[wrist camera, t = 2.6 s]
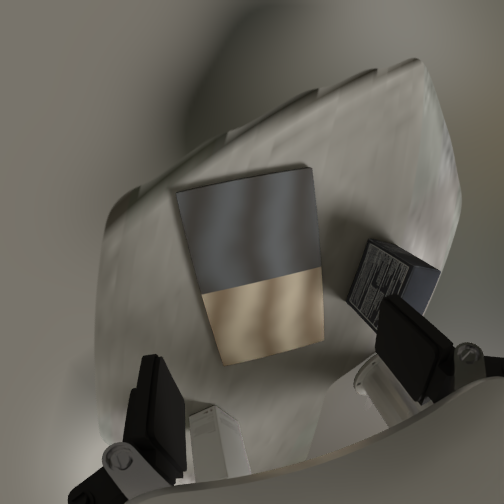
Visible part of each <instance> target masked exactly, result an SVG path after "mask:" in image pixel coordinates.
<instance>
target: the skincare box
mask: <svg viewBox="0 0 504 504" xmlns="http://www.w3.org/2000/svg"><path fill="white" fill-rule="evenodd" d="M189 423H190V435H191V446H192V455H193V464H194V473H195V481H196V483H199V482H208V481H215V480H222V479H229V478H234V477H240V476H246V475H251V474H252V473H251V469H250V466H249V462H248V458H247V454H246V450H245V446H244V442H243V438H242V434H241V430H240V426H239V422H238V421H237V420H235V419H234V418H232V417H231V416H230V415H228V414H227V413H225V412H224V411H223V410H221V409H220V408H218V407H217V406H216V405H214V406H212V407H209V408H207V409H205V410H203V411H200V412H198V413H196V414H194V415H191V416H190V417H189Z"/></svg>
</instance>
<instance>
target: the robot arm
mask: <svg viewBox="0 0 504 504" xmlns="http://www.w3.org/2000/svg"><path fill="white" fill-rule="evenodd" d="M375 350H376V353H377V354H376V355H375V356H373V357H372V358H371V359H369V360H368V361H367V362H366V363H365V364H364V365H363V366H362V367H361V369H360V370H359V371H358V373H357V375H356V377H355V379H354V388H355V390H356V391H357V393H359V394H361V395H368V396H369V398H370V399H371V401H372V402H373V404H374V405H375V407H376V409H377V410H378V412H379V413H380V415H381V416H382V418H383V420H384V421H385V423H386V424H387V426H388V427H389V429H387V430H384V431H382V432H380V433H378V434H376V435H374V436H372V437H369V438H367V439H364V440H362V441H360V442H357V443H355V444H352V445H350V446H347V447H345V448H342V449H340V450H337V451H334V452H331V453H328V454H326V455H323V456H320V457H317V458H314V459H310V460H307V461H304V462H300V463H297V464H293V465H290V466H286V467H282V468H278V469H274V470H270V471H265V472H261V473H256V474H251V475H246V476H240V477H234V478H229V479H222V480H215V481H208V482H199V483H192V484H184V485H176V486H174V484H175V483H176V478H183V472H184V471H187V461H186V438H185V403H184V399H183V397H182V395H181V393H180V391H179V389H178V387H177V385H176V383H175V382H174V380H173V378H172V376H171V374H170V372H169V369H168V367H167V365H166V363H165V361H164V359H163V357H158V355H157V354H152V355H146V356H143V357H142V361H141V366H140V371H139V377H138V382H137V388H133V389H132V390H131V393H130V398H129V403H128V409H127V415H126V422H125V428H124V435H123V442H118V443H114V444H112V445H110V446H109V447H108V448H107V449H106V450H105V451H104V453H103V456H102V464H103V467H102V468H100V469H99V470H98V471H97V472H95V473H94V474H92V475H91V476H90V477H88V478H87V479H86V480H84V481H83V482H82V483H80V484H79V485H78V486H76V487H75V488H74V489H73V490H72V491H71V492H70V494H69V495H68V504H504V358H500V357H490V356H484V355H483V352H482V350H481V348H479V346H477V345H476V344H473V343H469V342H465V343H461V344H459V345H458V346H457V347H456V348H455V347H453V343H452V342H451V341H450V340H449V339H448V338H447V337H446V336H445V335H444V334H443V333H441V332H440V331H439V330H438V329H437V328H436V327H435V326H434V325H432V324H431V323H430V322H429V321H428V320H427V319H425V317H423V316H422V315H421V314H420V313H419V312H418V311H416V310H415V309H414V308H413V307H412V306H411V305H409V304H408V303H407V302H406V301H405V300H404V299H402V298H401V297H400V296H399V295H398V294H396V293H394V294H391V295H388V296H386V297H384V298H383V300H382V301H381V303H380V309H379V319H378V328H377V336H376V343H375Z"/></svg>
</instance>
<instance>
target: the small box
mask: <svg viewBox="0 0 504 504" xmlns="http://www.w3.org/2000/svg"><path fill="white" fill-rule="evenodd" d="M440 273H441V271H439V270H438V269H436V268H434V267H433V266H431V265H429V264H428V263H426V262H424V261H423V260H421V259H419V258H417V257H416V256H414V255H412V254H411V253H409V252H407V251H405V250H404V249H402V248H400V247H399V246H397V245H394V244H390V243H386V242H382V241H378V240H375V239H368V242H367V245H366V248H365V251H364V254H363V257H362V259H361V262H360V265H359V268H358V271H357V273H356V276H355V279H354V282H353V284H352V287H351V289H350V292H349V295H348V297H347V300H346V302H347V304H348V305H350V306H351V307H352V308H353V309H354V310H355V311H356V312H357V314H358V315H359V316H360V317H361V318H362V319H363V320H364V321H365V322H366V323H367V324H368V325H369V326H370V327H371V328H372V329H373V331H375V333H376V334H377V328H378V319H379V309H380V303H381V301H382V300H383V298H384V297H386V296H388V295H391V294H394V293H396V294H398V295H399V296H400V297H401V298H402V299H404V300H405V301H406V302H407V303H408V304H409V305H411V306H412V307H413V308H414V309H415V310H416V311H418V312H419V313H420V314H421V315H422V314H423V312H424V310H425V308H426V306H427V304H428V301H429V299H430V297H431V295H432V292H433V290H434V288H435V285H436V283H437V280H438V278H439V275H440Z"/></svg>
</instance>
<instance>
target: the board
mask: <svg viewBox="0 0 504 504" xmlns="http://www.w3.org/2000/svg"><path fill="white" fill-rule="evenodd" d="M176 196H177V201H178V205H179V210H180V214H181V218H182V222H183V226H184V230H185V234H186V238H187V242H188V246H189V250H190V254H191V258H192V262H193V265H194V269H195V273H196V277H197V280H198V284H199V287H200V291H201V294H202V298H203V301H204V305H205V308H206V312H207V315H208V318H209V322H210V325H211V328H212V331H213V335H214V338H215V341H216V344H217V347H218V350H219V353H220V356H221V360H222V363H223V366H228V365H232V364H237V363H241V362H246V361H250V360H254V359H258V358H262V357H267V356H270V355H274V354H278V353H282V352H286V351H289V350H293V349H296V348H300V347H303V346H307V345H310V344H314V343H317V342H320V341H323V340H324V313H323V288H322V270H321V254H320V241H319V229H318V218H317V207H316V198H315V188H314V180H313V172H312V168H310V167H308V168H301V169H294V170H288V171H281V172H275V173H269V174H263V175H258V176H252V177H247V178H241V179H236V180H231V181H226V182H221V183H216V184H211V185H207V186H202V187H197V188H193V189H189V190H184V191H180V192H176Z"/></svg>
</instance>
